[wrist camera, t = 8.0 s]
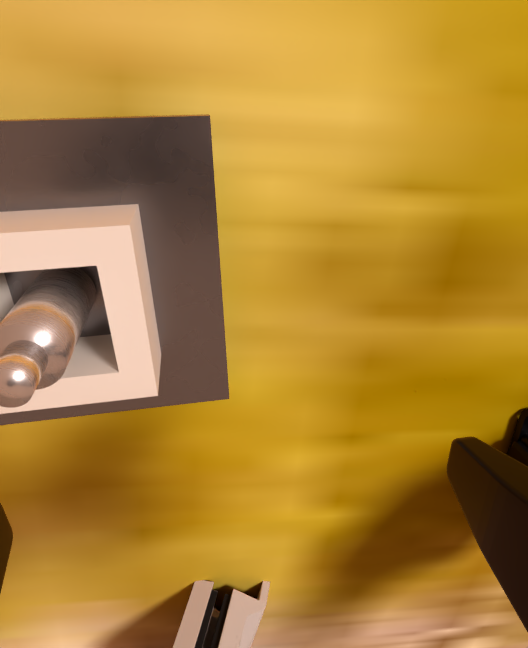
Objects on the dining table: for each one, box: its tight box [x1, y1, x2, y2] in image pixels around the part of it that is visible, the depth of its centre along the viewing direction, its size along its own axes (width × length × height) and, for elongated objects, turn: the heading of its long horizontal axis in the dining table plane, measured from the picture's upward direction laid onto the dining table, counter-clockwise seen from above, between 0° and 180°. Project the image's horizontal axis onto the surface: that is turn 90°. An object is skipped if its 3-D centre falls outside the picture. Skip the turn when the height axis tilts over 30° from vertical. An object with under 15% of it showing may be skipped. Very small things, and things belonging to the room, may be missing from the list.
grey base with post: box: [0, 115, 229, 425], centre depth 15 cm, size 12×12×8 cm
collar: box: [0, 204, 161, 414], centre depth 16 cm, size 6×6×3 cm
